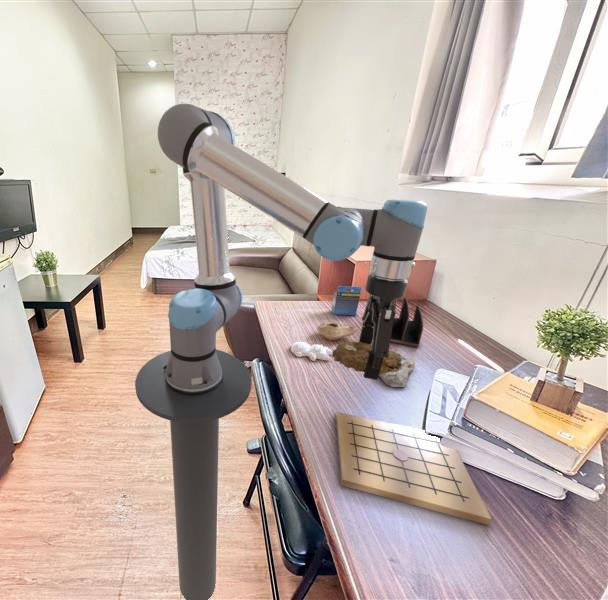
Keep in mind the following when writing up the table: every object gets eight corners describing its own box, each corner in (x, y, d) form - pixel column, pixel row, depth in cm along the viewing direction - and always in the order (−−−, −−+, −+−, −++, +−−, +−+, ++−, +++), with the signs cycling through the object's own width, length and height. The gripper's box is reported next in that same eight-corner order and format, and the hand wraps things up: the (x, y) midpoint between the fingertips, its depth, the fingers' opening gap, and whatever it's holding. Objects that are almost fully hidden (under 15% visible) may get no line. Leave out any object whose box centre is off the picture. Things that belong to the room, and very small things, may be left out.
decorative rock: (389, 355, 78) (327, 351, 80) (392, 340, 77) (329, 337, 79) (410, 380, 68) (339, 376, 70) (414, 364, 66) (341, 360, 68)
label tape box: (353, 311, 127) (358, 283, 122) (356, 316, 123) (362, 287, 118) (330, 310, 128) (335, 282, 123) (333, 315, 124) (338, 286, 119)
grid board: (341, 485, 56) (342, 479, 55) (335, 416, 72) (337, 411, 71) (488, 525, 49) (492, 518, 49) (447, 440, 65) (449, 434, 65)
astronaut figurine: (327, 365, 91) (328, 356, 90) (287, 353, 97) (288, 345, 96) (333, 352, 98) (334, 343, 97) (295, 342, 104) (296, 334, 103)
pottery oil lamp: (360, 343, 102) (358, 329, 98) (322, 349, 106) (319, 336, 102) (353, 323, 109) (351, 310, 105) (318, 330, 113) (314, 317, 108)
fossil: (380, 352, 98) (381, 343, 97) (416, 362, 92) (418, 353, 91) (362, 378, 86) (364, 369, 85) (403, 392, 80) (405, 382, 79)
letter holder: (383, 341, 105) (393, 302, 99) (384, 318, 121) (392, 284, 116) (418, 348, 100) (430, 308, 95) (413, 324, 116) (423, 289, 111)
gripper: (425, 298, 54) (395, 398, 62) (395, 263, 75) (375, 342, 83) (378, 293, 56) (355, 390, 64) (361, 260, 77) (345, 337, 85)
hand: (366, 363), depth 74 cm, fingers closed on decorative rock, 11 cm apart
